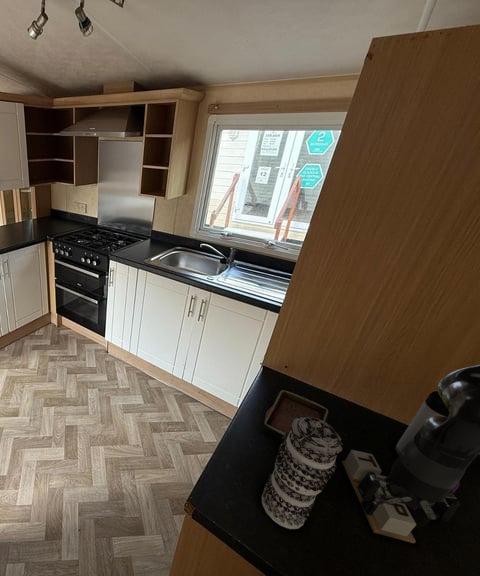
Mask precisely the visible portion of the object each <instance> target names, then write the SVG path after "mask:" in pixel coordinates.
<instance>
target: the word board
mask: <svg viewBox="0 0 480 576" xmlns="http://www.w3.org/2000/svg"><path fill="white" fill-rule="evenodd" d="M341 463H342V466H343V468H344V470H345V472H346V474H347V477H348V479H349V481H350V484H351V486H352V488H353V490H354V493H355V494H356V497H357V499H358V502H359V504H360V506H361V508H362V510H363V512H364V515H365V517H366V520H367V521H368V523H369V527H370V529H371V531H372V533H374V534H377V535H381V536H385V537H389V538H392V539H396V540H400V541H404V542H408V543H410V544H415V543H416V539H415V537H414V535H413V534H412V531H411V532H410V533H409V534H408V535H407V536H403V535H399V534H395V533H391V532H388V531H384V530H381V528H380V526H379V524H378V522H377V520H376V518H375V516H374V514H372V516H371V515H367V514H366V512H365V511H364V509H363V507H362V505H361V502H362V501H363V499H362V497H361V495H360V493H359V490H358V488H357V487H358V485H359V484H360V483H361V481H362V480H359V479H355V478H352V476H351V473H350V471H349V469H348V467H347V465H346V463H345V460H342V461H341Z"/></svg>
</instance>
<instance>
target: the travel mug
mask: <svg viewBox="0 0 480 576" xmlns="http://www.w3.org/2000/svg"><path fill="white" fill-rule="evenodd" d="M449 414H450V412H449V410H448V408H447V407H446V405H445V403H444V402H443V400H442V399H441V397H440V395H439V393H438V390H434V391H431V392H430V393H429V394H428V395H427V397H426V398H425V400H424V402H423V403H422V404H421V406H420V407H419V409H418V411H417V413H416V414H415V416H414V417H413V419H412V421H410V423H409V425H408V426H407V428H406V429H405V431H404V432H403V434H402V435H401V437H400V439H399V440H398V442H397V444H396V445H395V449H394V450H395V451H396V453H397V455H398V456H399V455H400V454H401V452H402V451H403V449H404V448H405V446H406V445H407V443H408V442H409V441H411V440H412V439H413V437H414V436H415V435H416V433H417V432H418V430H419V429H420V427H421V426H422V424H423V423H424V422H425V421H426V420H427V419H428V418H430V417H433V416H443V417H449Z"/></svg>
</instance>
